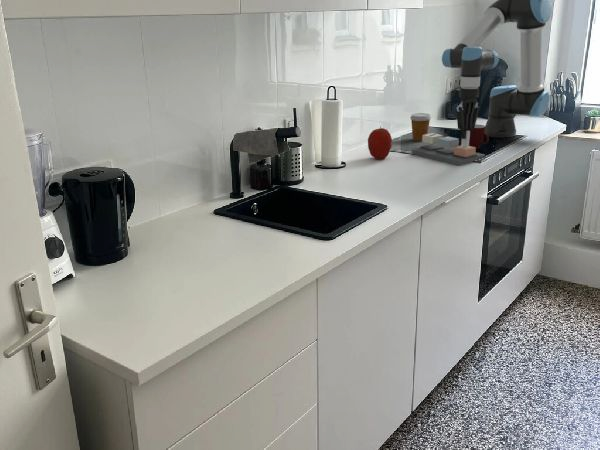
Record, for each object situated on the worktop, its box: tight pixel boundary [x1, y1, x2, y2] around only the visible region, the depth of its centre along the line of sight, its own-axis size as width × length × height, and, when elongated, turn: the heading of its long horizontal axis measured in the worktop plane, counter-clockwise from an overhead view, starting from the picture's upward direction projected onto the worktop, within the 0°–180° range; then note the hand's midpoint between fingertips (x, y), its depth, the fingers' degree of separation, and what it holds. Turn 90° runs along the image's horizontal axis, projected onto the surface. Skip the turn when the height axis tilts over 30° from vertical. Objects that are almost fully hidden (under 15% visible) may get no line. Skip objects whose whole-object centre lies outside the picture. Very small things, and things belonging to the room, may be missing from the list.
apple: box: [367, 126, 393, 160], centre depth 248 cm, size 10×10×14 cm
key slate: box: [437, 136, 460, 148], centre depth 249 cm, size 6×6×3 cm
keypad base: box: [411, 143, 486, 167], centre depth 251 cm, size 16×26×3 cm, turn 35°
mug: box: [469, 123, 490, 150], centre depth 261 cm, size 10×8×10 cm
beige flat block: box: [454, 145, 477, 157], centre depth 243 cm, size 6×6×3 cm
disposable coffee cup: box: [410, 112, 432, 142], centre depth 279 cm, size 10×10×12 cm
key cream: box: [421, 132, 444, 145], centre depth 256 cm, size 6×6×3 cm
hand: (464, 146), depth 242 cm, fingers closed
